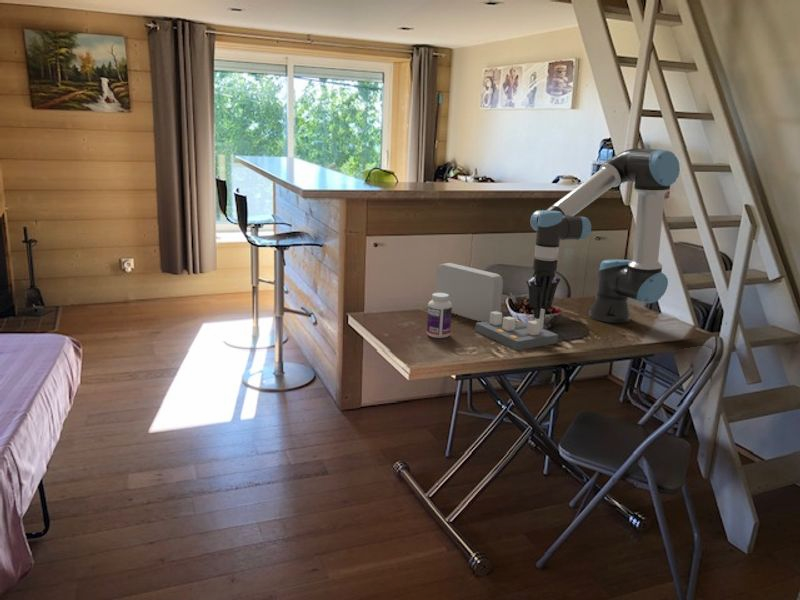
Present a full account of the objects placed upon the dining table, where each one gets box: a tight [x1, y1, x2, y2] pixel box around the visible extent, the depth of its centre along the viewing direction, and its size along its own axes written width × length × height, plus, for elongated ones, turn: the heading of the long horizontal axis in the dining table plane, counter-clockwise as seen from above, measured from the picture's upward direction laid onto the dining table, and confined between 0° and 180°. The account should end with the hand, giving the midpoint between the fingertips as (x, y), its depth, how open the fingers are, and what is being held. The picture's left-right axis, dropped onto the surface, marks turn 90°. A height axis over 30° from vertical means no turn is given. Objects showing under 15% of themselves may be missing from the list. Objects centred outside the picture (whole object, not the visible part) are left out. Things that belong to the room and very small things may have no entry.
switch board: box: [474, 318, 559, 351], centre depth 216 cm, size 18×22×3 cm
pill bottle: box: [426, 292, 452, 339], centre depth 213 cm, size 8×8×14 cm
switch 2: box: [526, 320, 540, 335], centre depth 210 cm, size 3×3×4 cm
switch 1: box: [489, 311, 503, 325], centre depth 219 cm, size 3×3×4 cm
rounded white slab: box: [434, 262, 504, 322], centre depth 239 cm, size 29×8×18 cm, turn 44°
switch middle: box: [502, 316, 516, 331], centre depth 214 cm, size 3×3×4 cm
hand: (538, 327), depth 211 cm, fingers closed
